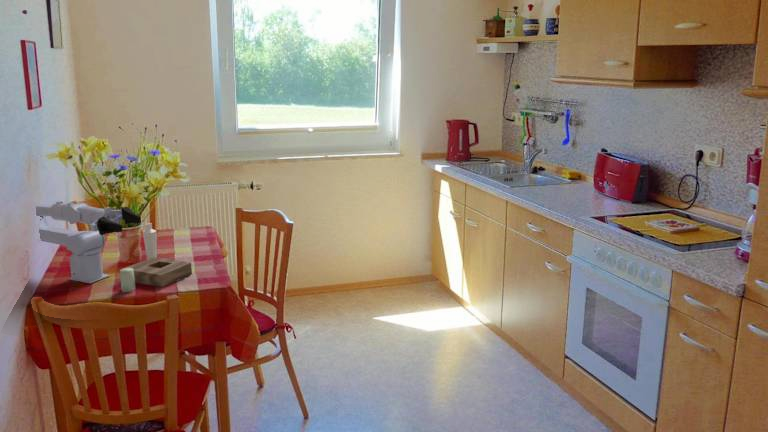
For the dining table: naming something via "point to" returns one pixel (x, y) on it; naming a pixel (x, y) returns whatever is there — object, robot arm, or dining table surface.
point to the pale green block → (127, 279)
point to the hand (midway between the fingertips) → (130, 224)
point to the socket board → (160, 271)
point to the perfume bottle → (150, 241)
